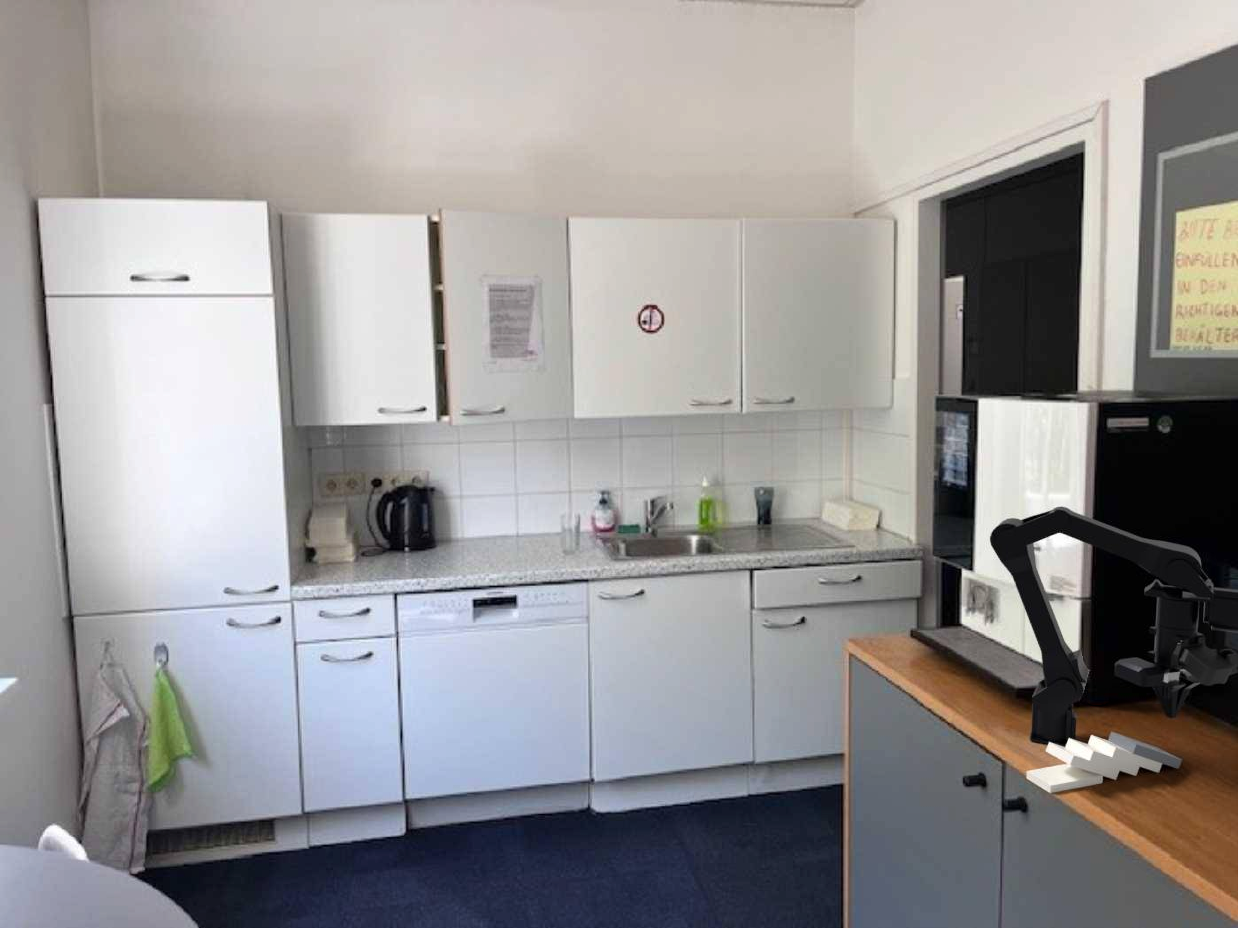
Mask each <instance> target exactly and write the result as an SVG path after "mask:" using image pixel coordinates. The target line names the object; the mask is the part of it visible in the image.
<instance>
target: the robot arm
mask: <svg viewBox="0 0 1238 928" xmlns="http://www.w3.org/2000/svg"><path fill="white" fill-rule="evenodd" d="M990 533H991V534H990V536H989V541H990V542H989V543H990V546H991V548H992V549H993V551H994V553H995V554H996V556H997V558H998V559H999V561H1000V562H1001V564H1002V565H1003V566H1004V568H1006V570H1007V571H1008V572H1009V573H1010V576H1011V577H1012V579H1013V581H1014V584H1015V587H1016V590H1017V593H1018V594H1019V598H1020V600H1021V602H1022V606H1023V608H1024V610H1025V614H1026V615H1027V618H1028V621H1029V624H1030V626H1031V629H1032V632H1033V633H1034V637H1035V639H1036V642H1037V644H1038V647H1039V650H1040V654H1041V662H1042V673H1043V677H1044V678H1042V680H1040V681H1039V682H1038V683H1037V685H1036V688H1035V690H1034V692H1033V694H1032V695H1031V696H1032V697H1031V702H1032V705H1031V729H1030V733H1029V734H1030V735H1029V741H1031V742H1035V743H1041V744H1045V745H1046V744H1047V745H1048V744H1049V742H1051V743H1054V744H1057V745H1060V746H1063V747H1066V744H1067V742H1068V739H1069V738H1071V739H1074V740H1076V735H1077V713H1076V712H1074V703H1077V702H1078V701H1079V700H1080V699H1081V697H1082V695H1083V693H1084V690H1085V686H1086V683H1087V677H1088V674H1089V671H1090V670H1089V669H1088V668H1087V667H1086V665H1085V663H1084V661H1083V656H1082V650H1081V649H1077V650H1075V651H1073V650H1072V649H1071V648H1070V646H1069V645H1068V644H1067V643H1066V640H1065V638H1064V637H1063V634H1062V631H1061V628H1060V626H1059V623H1058V621H1057V618H1056V615H1055V612H1054V610H1053V607H1052V605H1051V602H1050V599H1049V597H1048V594H1047V592H1046V590H1045V587H1044V584H1043V582H1042V579H1041V576H1040V574H1039V571H1038V569H1037V565H1036V555H1035V546H1034V543H1037V542H1039V541H1041V540H1042V541H1043V540H1045V539H1046V538H1049V537H1052V536H1054V535H1057V534H1062V535H1065V536H1067V537H1070V538H1073V539H1074V540H1078V541H1080V542H1083V543H1085V544H1088V545H1089V546H1092V547H1096V548H1098V549H1101V550H1103V551H1106V552H1109V553H1111V554H1113V555H1115V556H1118V557H1121V558H1123V559H1126V560H1127V561H1128V560H1129V561H1131V562H1133V563H1134V564H1136V565H1138V566H1139V567H1141V568H1142V569H1144V570H1145V571H1147V573H1149V574H1150V575H1152V576H1154V577H1156V579H1154V581H1153V582H1152V583H1151V584H1149V585H1147V586H1145V588H1144V596H1147V597H1155V598H1156V613H1155V615H1156V616H1155V626H1150V627H1148V633H1149V634H1150V635H1153V636H1154V649H1153V650H1149V651H1147V658H1148V659H1150V660H1153V661H1154V662H1149V661H1147V660H1146V659H1145V660H1144V659H1142V658H1140V657H1138V656H1136V657H1135V656H1134V657H1127V658H1119V660H1118V661H1116V662H1115V663H1114V676H1115V677H1117V678H1120V679H1122V680H1124V681H1127V682H1130V683H1132V684H1134V685H1136V686H1139V687H1142V688H1150V687H1151V688H1152V689H1153V691H1154V694H1155V695H1156V697H1157V700H1158V702H1159V704H1160V706H1161V708H1162V710H1163V712H1164V714H1165V716H1166V717H1167V718H1169V719H1176V718H1177V716H1178V714H1179V713H1180V710H1181V708H1182V706H1183V704H1184V702H1185V700H1186V698H1187V696H1188V695H1189V692H1190V691H1191V690H1192V689H1193V688H1194V687H1196V686H1199V685H1200V684H1202V685H1203V686H1208V687H1211V686H1213V685H1216V684H1221V685H1223V684H1226V682H1227V680H1228V678H1229V676H1231V675H1232V676H1233V675H1234V674H1237V673H1238V652H1236V651H1235V650H1233V648H1223V649H1220V650H1219V651H1218V649H1216V648H1210V647H1207V645H1206V637H1205V634H1202V633H1201V632H1198V627H1199V615H1200V614H1199V613H1200V611H1199V610H1200V602H1201V603H1203V604H1204V605H1203V623H1207V625H1208V626H1209V627H1210V628H1211V630H1212V631H1219V632H1220V631H1221V632H1226V633H1227V632H1229V633H1237V634H1238V589H1233V588H1225V587H1224V588H1223V587H1214V583H1213V582H1212V579H1210V578H1209V577H1208V576H1207V574H1206V573H1205V572H1204V570H1203V569H1202V561H1201V557H1200V556H1199V554H1198V552H1197V551H1196V550H1194V549H1193V548H1192V547H1190V546H1187V545H1183V544H1179V543H1174V542H1169V541H1164V540H1157V539H1149V538H1144V537H1141V536H1138V535H1135V534H1133V533H1131V532H1129V531H1126V530H1122V529H1119V528H1117V527H1115V526H1112V525H1109V524H1106V523H1104V522H1102V521H1099V520H1096V519H1093V518H1091V517H1090V516H1089V517H1088V516H1087V515H1083V514H1080V513H1078V512H1075V511H1073V510H1071V509H1070V508H1068V507H1066V506H1057V507H1054V508H1052V509H1050V510H1048V511H1044V512H1041V513H1038V514H1034V515H1031V516H1028V517H1025V518H1023V519H1019V518H1016V517H1015V518H1014V517H1011V518H1006V519H1004V520H1002V521H1001V522H999V524H998V525H997V526H995V527H994V529H992V531H991V532H990ZM1160 580H1161V581H1162V582H1164V583H1166V584H1168V585H1165V584H1163V583H1162V582H1161V581H1160ZM1184 589H1185V590H1187V591H1183V590H1184Z"/></svg>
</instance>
